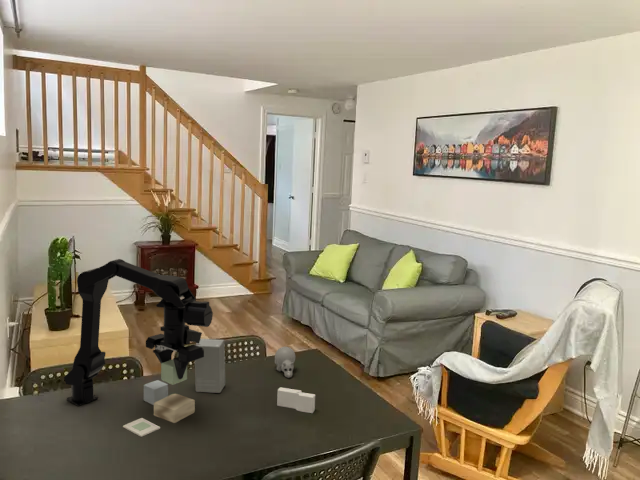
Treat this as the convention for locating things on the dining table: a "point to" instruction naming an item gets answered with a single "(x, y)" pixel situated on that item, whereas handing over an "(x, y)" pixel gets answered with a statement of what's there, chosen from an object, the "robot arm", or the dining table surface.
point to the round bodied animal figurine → (285, 360)
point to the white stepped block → (296, 400)
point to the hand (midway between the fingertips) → (174, 376)
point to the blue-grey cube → (155, 391)
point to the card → (141, 427)
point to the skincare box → (210, 366)
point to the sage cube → (171, 373)
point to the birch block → (174, 407)
